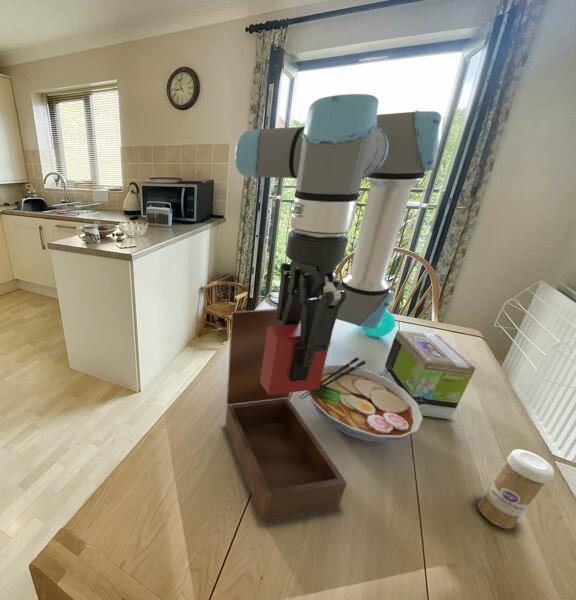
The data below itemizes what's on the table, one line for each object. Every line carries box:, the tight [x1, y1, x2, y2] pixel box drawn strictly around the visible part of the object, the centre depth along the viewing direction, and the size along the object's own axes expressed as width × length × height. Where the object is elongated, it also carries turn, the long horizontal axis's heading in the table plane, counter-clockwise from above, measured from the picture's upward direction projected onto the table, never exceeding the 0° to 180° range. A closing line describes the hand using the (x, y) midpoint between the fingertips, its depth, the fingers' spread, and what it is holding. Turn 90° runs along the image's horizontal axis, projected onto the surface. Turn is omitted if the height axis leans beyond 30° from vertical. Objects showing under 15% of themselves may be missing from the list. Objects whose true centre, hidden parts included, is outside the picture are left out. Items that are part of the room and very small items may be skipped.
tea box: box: [381, 330, 476, 420], centre depth 76 cm, size 15×10×15 cm
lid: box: [226, 308, 291, 405], centre depth 64 cm, size 21×14×1 cm
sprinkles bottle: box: [477, 448, 555, 530], centre depth 50 cm, size 5×5×13 cm
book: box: [260, 324, 333, 395], centre depth 51 cm, size 4×9×11 cm, turn 99°
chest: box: [224, 398, 348, 521], centre depth 60 cm, size 20×14×7 cm
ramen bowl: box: [298, 356, 424, 442], centre depth 70 cm, size 25×23×8 cm
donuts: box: [361, 308, 397, 338], centre depth 107 cm, size 10×10×10 cm
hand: (291, 370), depth 52 cm, fingers closed on book, 3 cm apart
